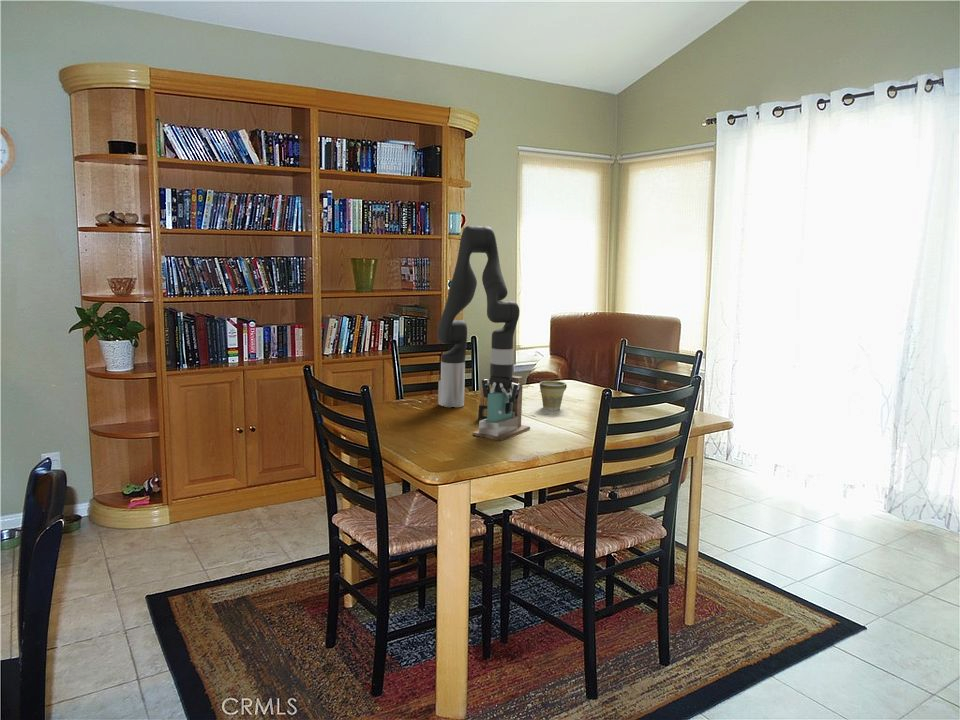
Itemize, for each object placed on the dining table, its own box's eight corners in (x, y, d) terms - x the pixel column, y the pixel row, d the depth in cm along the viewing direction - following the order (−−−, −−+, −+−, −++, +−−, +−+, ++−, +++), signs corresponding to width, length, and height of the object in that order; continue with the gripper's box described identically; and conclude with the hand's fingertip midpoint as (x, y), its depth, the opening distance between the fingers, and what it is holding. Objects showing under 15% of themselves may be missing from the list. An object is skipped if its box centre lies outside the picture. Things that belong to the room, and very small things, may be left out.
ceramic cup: (552, 412, 278) (553, 386, 277) (533, 407, 286) (534, 382, 284) (574, 408, 287) (576, 382, 285) (556, 403, 294) (557, 379, 293)
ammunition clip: (507, 420, 263) (509, 387, 261) (506, 421, 261) (507, 388, 259) (479, 417, 266) (480, 385, 265) (477, 418, 265) (478, 386, 263)
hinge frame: (472, 435, 241) (473, 381, 239) (502, 424, 257) (504, 373, 254) (500, 440, 235) (502, 385, 233) (530, 429, 251) (532, 377, 248)
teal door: (486, 432, 241) (487, 393, 239) (504, 426, 250) (505, 388, 248) (496, 434, 239) (497, 395, 237) (513, 428, 248) (515, 390, 246)
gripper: (477, 360, 242) (475, 411, 245) (514, 365, 234) (512, 417, 237) (489, 358, 248) (487, 407, 251) (526, 362, 241) (524, 413, 243)
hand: (500, 412), depth 244 cm, fingers open, 5 cm apart
